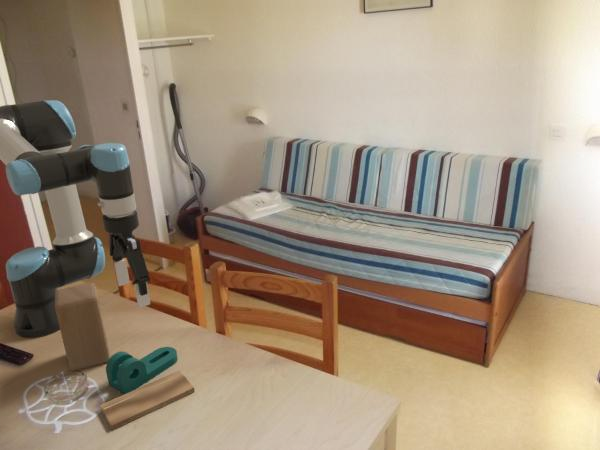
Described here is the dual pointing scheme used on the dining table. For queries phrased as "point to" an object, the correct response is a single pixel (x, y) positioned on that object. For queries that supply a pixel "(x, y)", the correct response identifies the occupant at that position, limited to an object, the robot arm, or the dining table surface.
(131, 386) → the bracket
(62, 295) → the block
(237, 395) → the dining table surface
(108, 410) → the plank
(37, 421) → the dining table surface
